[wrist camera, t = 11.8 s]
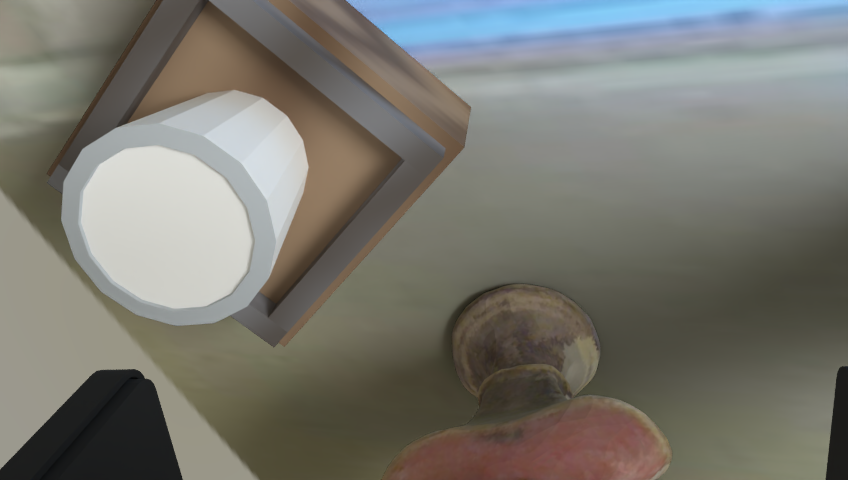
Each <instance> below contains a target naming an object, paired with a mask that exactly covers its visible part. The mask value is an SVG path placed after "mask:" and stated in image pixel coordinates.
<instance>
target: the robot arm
mask: <svg viewBox="0 0 848 480" xmlns="http://www.w3.org/2000/svg"><path fill="white" fill-rule="evenodd" d="M0 480H183V479H182V476H181V472H180V469H179V466H178V462H177V459H176V455H175V452H174V449H173V445H172V442H171V439H170V435H169V432H168V428H167V425H166V422H165V418H164V415H163V411H162V408H161V405H160V401H159V398H158V395H157V391H156V388H155V386H154V384H153V382H152V381H151V380H149V379H145V378H144V376H143V374H142V373H141V372H140V371H138V370H135V369H131V370H130V369H128V370H100V371H96V372H95V373H93V374H92V375H91V376H90V377H89V378H88V379H87V380H86V381H85V382H84V383H83V384H82V386H80V388H79V389H78V390H77V391H76V392H75V393H74V394H73V395H72V396H71V397H70V398H69V399H68V400H67V401H66V402H65V403H64V404H63V405H62V406H61V407H60V408H59V409H58V410H57V411H56V412H55V413H54V414H53V415H52V417H51V418H50V419H49V420H48V421H47V422H46V423H45V424H44V425H43V426H42V427H41V428H40V429H39V430H38V431H37V432H36V433H35V434H34V435H33V436H32V437H31V438H30V439H29V440H28V441H27V442H26V443H25V444H24V446H23V447H22V448H21V449H20V450H19V451H18V452H17V453H16V454H15V455H14V456H13V457H12V458H11V459H10V460H9V461H8V462H7V463H6V464H5V465H4V466H3V467H2V468H1V469H0ZM826 480H848V366H842V367H841V368H839V371H838V373H837V379H836V388H835V398H834V407H833V416H832V426H831V435H830V444H829V454H828V463H827V472H826Z"/></svg>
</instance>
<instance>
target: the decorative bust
mask: <svg viewBox="0 0 848 480" xmlns="http://www.w3.org/2000/svg"><path fill="white" fill-rule="evenodd" d="M452 352H453V360H454V364H455V369H456V372H457V374H458V377H459V379H460V381H461V382H462V384H463V386H464V387H465V388H466V389H467V390H468V391H469V392H470V393H471V394H473V395H474V396H476V397H477V398H478V401H479V409H478V411H477V413H476V415H475V416H474V417H473V419H472V420H471V421H469V422H468V423H467V424H466V425H462V426H457V427H452V428H447V429H443V430H439V431H434V432H432V433H429V434H427V435H425V436H423V437H421V438H419V439H417V440H415V441H413V442H411V443H410V444H408V445H407V446H406V447H405V448H404V449H403V450H402V451H401V452H400V453H398V454H397V455H396V456H395V458H394V459H393V460H392V462H391V463H390V464H389V466H388V467H387V469H386V471H385V473H384V475H383V477H382V479H381V480H656V479H658V478H659V477H660V476H661V475H662V474H664V473H665V472H666V471H667V469H668V467H669V465H670V463H671V459H672V449H671V447H670V444H669V442H668V440H667V438H666V437H665V435H664V434H663V433H662V431H661V430H660V429H659V427H658V426H657V425H656V424H655V423H654V422H653V421H652V420H651V419H650V418H649V417H648V416H647V415H646V414H645V413H644V412H642V411H640V410H638V409H637V408H635V407H633V406H632V405H630V404H628V403H625V402H623V401H621V400H619V399H614V398H610V397H605V396H599V395H582V396H578V397H574V396H575V395H576V394H577V393H578V392H579V391H581V390H582V389H583V388H584V387H585V386H586V385H587V384H588V383H589V382H590V381H591V380H592V378H593V376H594V375H595V373H596V371H597V366H598V362H599V357H600V342H599V338H598V335H597V332H596V330H595V327H594V325H593V323H592V321H591V319H590V317H589V316H588V315H587V314H586V313H585V312H584V311H583V310H582V309H581V308H580V306H579V305H577V304H576V303H575V302H574V301H572V300H571V299H569V298H568V297H566V296H565V295H563V294H562V293H560V292H557V291H555V290H553V289H549V288H545V287H540V286H536V285H529V284H511V285H507V286H503V287H500V288H498V289H495V290H492V291H489V292H486V293H483V294H482V295H481V296H480V297H478V298H477V299H476V300H474V301H473V302H472V303H470V304H469V305H468V306H466V308H465V309H464V311H463V312H462V313H461V315H460V316H459V317H458V319H457V320H456V323H455V326H454V328H453V331H452Z"/></svg>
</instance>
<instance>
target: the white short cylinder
mask: <svg viewBox="0 0 848 480" xmlns="http://www.w3.org/2000/svg"><path fill="white" fill-rule="evenodd" d="M308 168H309V167H308V162H307V157H306V152H305V147H304V143H303V139H302V138H301V136H300V135H299V133H298V132H297V130H296V129H295V127H294V126H293V124H292V123H291V121H290V119H289V118H288V116H287V115H285V114H284V113H283V112H281V111H280V110H279V109H277V108H276V107H275V106H273V105H272V104H271V103H269V102H268V101H267V100H265V99H264V98H262V97H258V96H255V95H251V94H248V93H244V92H241V91H237V90H230V91H221V92H213V93H206V94H204V95H201V96H198V97H196V98H193V99H191V100H188V101H185V102H183V103H180V104H177V105H175V106H172V107H170V108H167V109H164V110H162V111H159V112H156V113H154V114H151V115H149V116H146V117H143V118H141V119H138V120H136V121H133V122H130V123H128V124H125V125H122V126H120V127H117V128H115V129H113V130H112V131H110V132H109V133H107V134H106V135H104V136H102V137H101V138H99V139H98V140H96V141H94V142H93V143H91V144H90V145H88V146H86V147H85V148H83V149H82V151H81V152H80V154H79V156H78V158H77V159H76V161H75V163H74V164H73V166H72V168H71V170H70V171H69V173H68V175H67V177H66V178H65V180H64V183H63V199H62V215H61V221H62V224H63V227H64V230H65V233H66V236H67V238H68V241H69V244H70V247H71V250H72V253H73V256H74V258H75V260H76V261H77V262H78V264H79V265H80V266H81V267H82V269H83V270H84V271H85V272H86V274H87V275H88V276H89V277H90V279H91V280H92V281H93V282H94V284H95V285H96V286H97V287H98V288H99V290H100V291H101V292H102V293H104V294H105V295H107V296H108V297H110V298H111V299H113V300H114V301H116V302H117V303H119V304H121V305H122V306H124V307H125V308H127V309H128V310H130V311H131V312H133V313H134V314H136V315H138V316H142V317H146V318H149V319H153V320H156V321H160V322H164V323H167V324H171V325H174V326H181V325H195V324H209V323H216V322H218V321H220V320H222V319H224V318H226V317H228V316H230V315H231V314H233V313H235V312H237V311H239V310H241V309H243V308H245V307H247V306H248V305H249V303H250V302H251V301H252V300H253V298H254V297H255V296H256V294H257V293H258V292H259V290H260V289H261V288H262V287H263V285H264V284H265V283H266V281H267V280H268V279H269V277H270V274H271V272H272V269H273V267H274V264H275V262H276V259H277V257H278V254H279V252H280V249H281V247H282V244H283V242H284V239H285V237H286V235H287V232H288V230H289V227H290V225H291V222H292V220H293V217H294V215H295V212H296V210H297V207H298V205H299V202H300V200H301V197H302V195H303V192H304V187H305V182H306V177H307V173H308Z"/></svg>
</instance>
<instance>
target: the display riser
mask: <svg viewBox="0 0 848 480" xmlns="http://www.w3.org/2000/svg"><path fill="white" fill-rule="evenodd" d="M230 90H237V91H241V92H244V93H248V94H251V95H255V96H258V97H262V98H264V99H265V100H267V101H268V102H269V103H271V104H272V105H273V106H275V107H276V108H277V109H279V110H280V111H281V112H283V113H284V114H285V115H287V116H288V118H289V119H290V121H291V123H292V124H293V126H294V127H295V129H296V130H297V132H298V133H299V135H300V136H301V138H302V139H303V143H304V147H305V152H306V157H307V162H308V167H309V168H308V173H307V177H306V182H305V187H304V192H303V195H302V197H301V200H300V202H299V205H298V207H297V210H296V212H295V215H294V217H293V220H292V222H291V225H290V227H289V230H288V232H287V235H286V237H285V239H284V242H283V244H282V247H281V249H280V252H279V254H278V257H277V259H276V262H275V264H274V267H273V269H272V272H271V274H270V277H269V279H268V280H267V281H266V283H265V284H264V285H263V287H262V288H261V289H260V290H259V292H258V293H257V294H256V296H255V297H254V298H253V300H252V301H251V302H250V303H249V305H248V306H247V307H245V308H243V309H241V310H239V311H237V312H235V313H233V314H231V315H230V316H231V317H233V318H234V319H235V320H237V321H238V322H239V323H241V324H242V325H244V326H245V327H246V328H248V329H249V330H251V331H252V332H253V333H255V334H256V335H257V336H259V337H260V338H262V339H263V340H264V341H266V342H267V343H268V344H270V345H271V346H273V347H275V346H276V345H277V344H278V343H280V344H281V345H283V346H284V347H285V346H286V344H287V343H288V342H289V341H290V340H291V339H292V338H293V337H294V336H295V334H296V333H297V332H298V331H299V330H300V329H301V328H302V327H303V326H304V324H305V323H306V322H307V321H308V320H309V319H310V318H311V317H312V316H313V314H314V313H315V312H316V311H317V310H318V309H319V308H320V307H321V306H322V304H323V303H324V302H325V301H326V300H327V299H328V298H329V297H330V296H331V295H332V293H333V292H334V291H335V290H336V289H337V288H338V287H339V286H340V285H341V283H342V282H343V281H344V280H345V279H346V278H347V277H348V276H349V275H350V273H351V272H352V271H353V270H354V269H355V268H356V267H357V266H358V265H359V263H360V262H361V261H362V260H363V259H364V258H365V257H366V256H367V255H368V253H369V252H370V251H371V250H372V249H373V248H374V247H375V246H376V245H377V244H378V242H379V241H380V240H381V239H382V238H383V237H384V236H385V235H386V234H387V232H388V231H389V230H390V229H391V228H392V227H393V226H394V225H395V224H396V222H397V221H398V220H399V219H400V218H401V217H402V216H403V215H404V214H405V212H406V211H407V210H408V209H409V208H410V207H411V206H412V205H413V204H414V202H415V201H416V200H417V199H418V198H419V197H420V196H421V195H422V194H423V193H424V191H425V190H426V189H427V188H428V187H429V186H430V185H431V184H432V183H433V181H434V180H435V179H436V178H437V177H438V176H439V175H440V174H441V173H442V171H443V170H444V169H445V168H446V167H447V166H448V165H449V164H450V163H451V161H452V160H453V159H454V158H455V157H456V156H457V155H458V154H459V153H460V151H461V150H462V149H463V148H464V146H465V140H466V134H467V128H468V122H469V116H470V110H471V107H470V106H469V105H468V104H467V103H465V102H464V101H463V100H462V99H461V98H459V97H458V96H457V95H456V94H455V93H454V92H452V91H451V90H450V89H449V88H448V87H447V86H445V85H444V84H443V83H442V82H441V81H440V80H438V79H437V78H436V77H435V76H434V75H432V74H431V73H430V72H429V71H428V70H427V69H425V68H424V67H423V66H422V65H421V64H420V63H418V62H417V61H416V60H415V59H414V58H413V57H411V56H410V55H409V54H408V53H407V52H405V51H404V50H403V49H402V48H401V47H400V46H398V45H397V44H396V43H395V42H394V41H393V40H391V39H390V38H389V37H388V36H387V35H386V34H384V33H383V32H382V31H381V30H380V29H378V28H377V27H376V26H375V25H374V24H373V23H371V22H370V21H369V20H368V19H367V18H366V17H364V16H363V15H362V14H361V13H360V12H359V11H357V10H356V9H355V8H354V7H353V6H351V5H350V4H349V3H348V2H347V1H346V0H156V2H155V3H154V5H153V6H152V8H151V10H150V11H149V13H148V14H147V16H146V18H145V19H144V21H143V22H142V24H141V25H140V27H139V29H138V30H137V32H136V33H135V35H134V36H133V38H132V40H131V41H130V43H129V44H128V46H127V48H126V49H125V51H124V52H123V54H122V55H121V57H120V59H119V60H118V62H117V63H116V65H115V66H114V68H113V70H112V71H111V73H110V74H109V76H108V78H107V79H106V81H105V82H104V84H103V85H102V87H101V89H100V90H99V92H98V93H97V95H96V96H95V98H94V100H93V101H92V103H91V104H90V106H89V108H88V109H87V111H86V112H85V114H84V115H83V117H82V119H81V120H80V122H79V123H78V125H77V126H76V128H75V130H74V131H73V133H72V134H71V136H70V138H69V139H68V141H67V142H66V144H65V145H64V147H63V149H62V150H61V152H60V153H59V155H58V156H57V158H56V160H55V161H54V163H53V164H52V166H51V168H50V169H49V171H48V172H47V174H48V175H49V176H50V178H49V180H48V182H47V183H48V184H49V185H50V186H52V187H53V188H55V189H56V190H57V191H59V192H60V193H62V194H63V183H64V180H65V178H66V177H67V175H68V173H69V171H70V170H71V168H72V166H73V164H74V163H75V161H76V159H77V158H78V156H79V154H80V152H81V151H82V149H83V148H85V147H86V146H88V145H90V144H91V143H93V142H94V141H96V140H98V139H99V138H101V137H102V136H104V135H106V134H107V133H109V132H110V131H112V130H113V129H115V128H117V127H120V126H122V125H125V124H128V123H130V122H133V121H136V120H138V119H141V118H143V117H146V116H149V115H151V114H154V113H156V112H159V111H162V110H164V109H167V108H170V107H172V106H175V105H177V104H180V103H183V102H185V101H188V100H191V99H193V98H196V97H198V96H201V95H204V94H206V93H213V92H221V91H230Z"/></svg>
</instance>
